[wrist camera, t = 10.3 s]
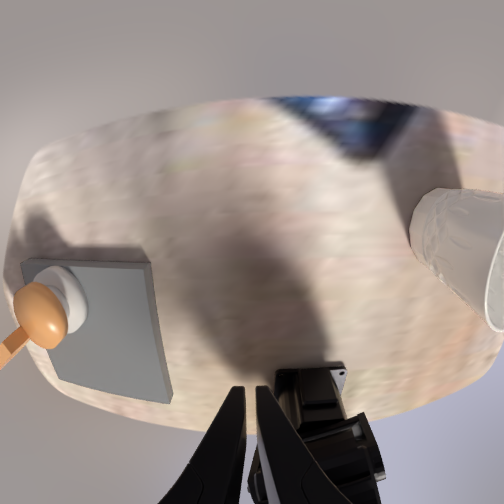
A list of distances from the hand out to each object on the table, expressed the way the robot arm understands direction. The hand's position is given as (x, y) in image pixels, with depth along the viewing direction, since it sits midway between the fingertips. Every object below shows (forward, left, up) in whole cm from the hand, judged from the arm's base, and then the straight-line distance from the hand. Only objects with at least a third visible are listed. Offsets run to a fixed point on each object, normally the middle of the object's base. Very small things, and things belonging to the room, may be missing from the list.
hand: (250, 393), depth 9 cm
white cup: (+3, -15, -13) cm, 20 cm away
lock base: (-7, +15, -12) cm, 20 cm away
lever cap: (-5, +19, -9) cm, 22 cm away
